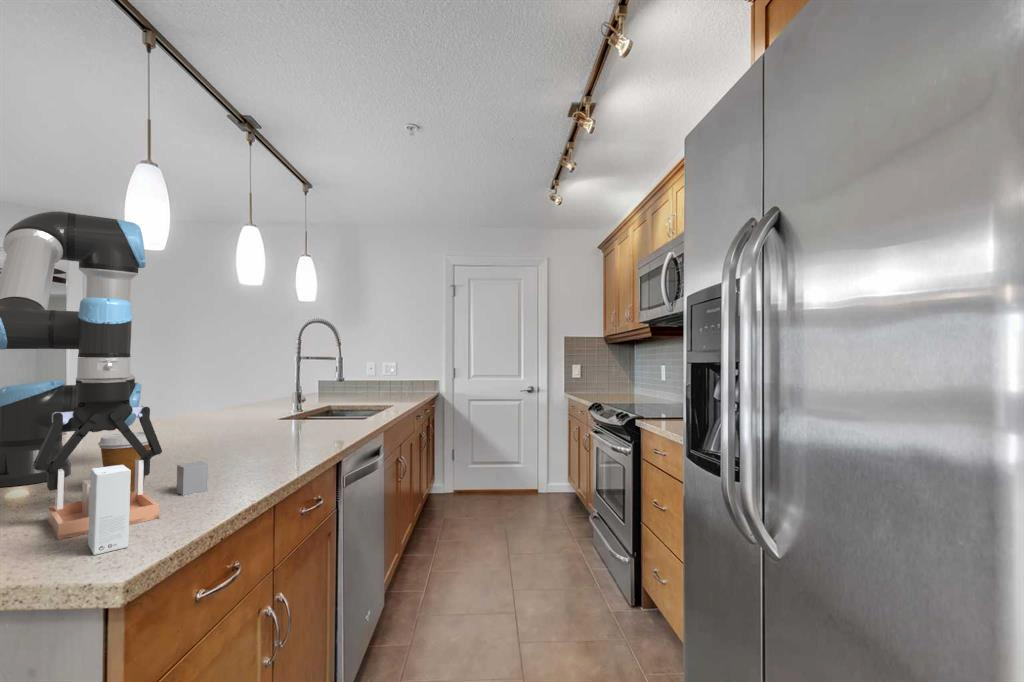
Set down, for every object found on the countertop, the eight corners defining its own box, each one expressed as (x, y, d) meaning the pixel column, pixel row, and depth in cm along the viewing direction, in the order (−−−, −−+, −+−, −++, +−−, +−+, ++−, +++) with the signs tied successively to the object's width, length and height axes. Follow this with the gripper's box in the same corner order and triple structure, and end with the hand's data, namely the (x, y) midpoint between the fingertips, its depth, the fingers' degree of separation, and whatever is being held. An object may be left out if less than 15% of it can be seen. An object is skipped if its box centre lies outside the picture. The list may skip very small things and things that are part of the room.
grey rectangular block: (176, 492, 102) (177, 464, 103) (200, 488, 106) (200, 461, 106) (183, 496, 99) (183, 467, 100) (207, 491, 103) (207, 464, 103)
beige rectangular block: (81, 513, 87) (82, 480, 87) (113, 507, 90) (114, 475, 90) (86, 518, 84) (87, 484, 84) (118, 512, 87) (119, 479, 88)
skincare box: (129, 547, 73) (131, 469, 73) (93, 556, 70) (95, 474, 70) (122, 537, 77) (124, 463, 77) (87, 545, 74) (89, 468, 74)
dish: (47, 521, 84) (47, 506, 84) (140, 503, 95) (140, 490, 95) (58, 540, 76) (58, 524, 76) (159, 518, 86) (159, 504, 86)
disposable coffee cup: (128, 496, 99) (130, 439, 100) (84, 496, 99) (85, 438, 100) (162, 484, 109) (164, 431, 109) (122, 483, 109) (123, 431, 109)
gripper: (16, 384, 77) (11, 521, 76) (183, 379, 94) (180, 490, 94) (12, 382, 82) (8, 511, 81) (171, 378, 99) (169, 483, 98)
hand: (100, 500), depth 87 cm, fingers open, 10 cm apart
